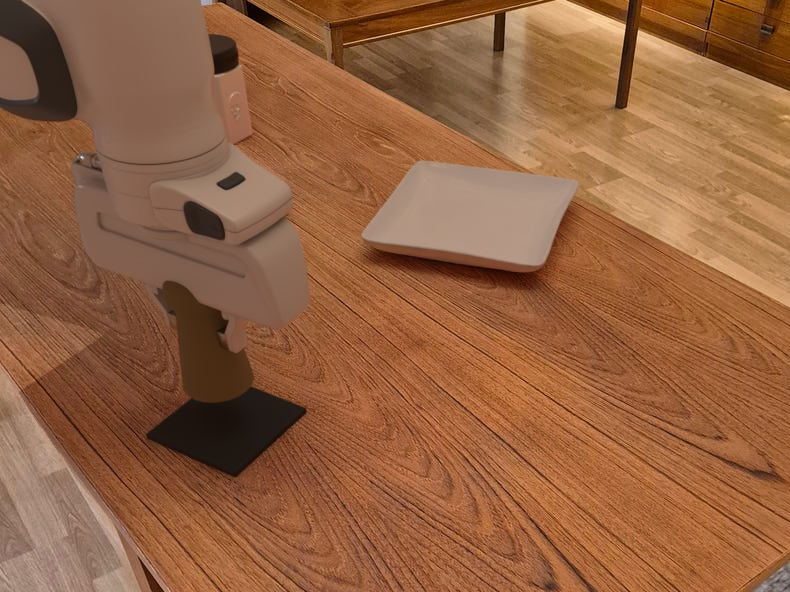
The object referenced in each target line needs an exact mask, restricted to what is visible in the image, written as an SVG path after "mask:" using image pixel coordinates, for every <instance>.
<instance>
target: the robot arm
mask: <svg viewBox="0 0 790 592" xmlns="http://www.w3.org/2000/svg"><path fill="white" fill-rule="evenodd" d="M208 34H209V30H208V27H207V22H206V17H205V13H204V9H203V5H202V0H0V109H2V110H4V111H5V112H7V113H9V114H11V115H14V116H17V117H20V118H21V119H25V120H30V121H36V122H51V123H57V122H58V123H61V122H68V121H71V120H79V121H82V122H84V123H85V124H87V126H88V127H89V128H90V130H91V131H92V132H91V133H93V134H92V135H93V143H94V148H95V150H96V152H95V151H90V150H82V151H80V152H79V154H77V155H76V156H74V158H73V159H72V163H71V164H70V171H71V175H72V178H73V182H74V185H75V186H74V189H73V196H72V197H73V205H74V211H75V216H76V221H77V226H78V230H79V235H80V238H81V242H82V246H83V248H84V251H85V254H87V256H88V258H89V259H90V260H91V261H92V262H93V263H94V264H95V266H97V267H100V268H102V269H105V270H109V271H111V272H113V273H116V274H119V275H122V276H125V277H127V278H129V279H133V280H136V281H138V282H140V283H143V285H144V289H145V291H146V293H147V294H148V295H149V297H150V298H151V299H152V301H153V302H154V304H155V305H156V306H157V308H158V309H159V311H160V312H161V313H162V315H163V319H164V323H165V326H166V328H169V329H171V330H174V331H177V324H176V315H175V311H173V310H172V309H171V308H170V306H169V305H168V304H167V302H166V300H165V299H164V295H163V291H162V286H163V283H164V282H165V281H173V282H177V283H179V284H181V285H183V286H185V287H186V288H187V289H188V290H189V291H190V292H191V293H192V294H193V295H194V297H195V298H196V299H197V301H198V302H199V303H201V304H204V305H207V306H209V307H212V308H215V309H218V310H220V311H221V313H222V317H223V319H225V320H229V322H228V324H227V325H226V327H223V328H221V329H220V330H219V331H217V335H218V339H219V340H220V343H219V344H220V346H221V347H222V348H224V349H226V350H229V351H231V352H234V353H238V352H239V351H241V350H242V349H243V348H244V349H245V348H246V347H247V345H248V343H249V342H248V341H249V339H248V333H247V329H246V327H247V326H248V324H249V322H250V323H254V324H256V325H259V326H261V327H264V328H268V329H270V330H272V331H276V332H277V331H283V329H285V328H286V327H288V326H289V325H291V324H292V323H293V322H295V321H296V320H297V319H298V318H299V317H300V316H301V315H302V314H303V313H305V311H306V310H307V308H308V307H309V305H310V301H311V293H310V283H309V276H308V270H307V264H306V258H305V254H304V248H303V244H302V241H301V237H300V236H299V233H298V231H297V229H296V228H295V226H294V224H293V223H292V222H291V220H290V219H288V218H287V215H286V214H287V213H288V214H289V212H290V211H291V210H292V209H293V207H294V196H293V192H292V189H291V187H290V186H289V184H287V183H286V181H284V180H282V178H279V177H278V176H276V175H275V174H274V173H272V172H270V171H268V170H267V169H266V168H265V167H262V166H261V165H260V164H258V163H257V162H256V161H254V160H253V159H252V158H250V157H249V156H248V155H247V154H245V153H244V152H243V151H242V150H241V149H240V148H238V147H237V146H236V144H234V145H233V144H231V143H229V142H228V140H227V134H226V129H225V125H224V122H223V119H222V117H221V115H220V113H219V111H218V109H217V107H216V104H215V101H214V95H213V80H214V63H213V57H212V51H211V46H210V41H209V35H208ZM284 215H286V216H284Z"/></svg>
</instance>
